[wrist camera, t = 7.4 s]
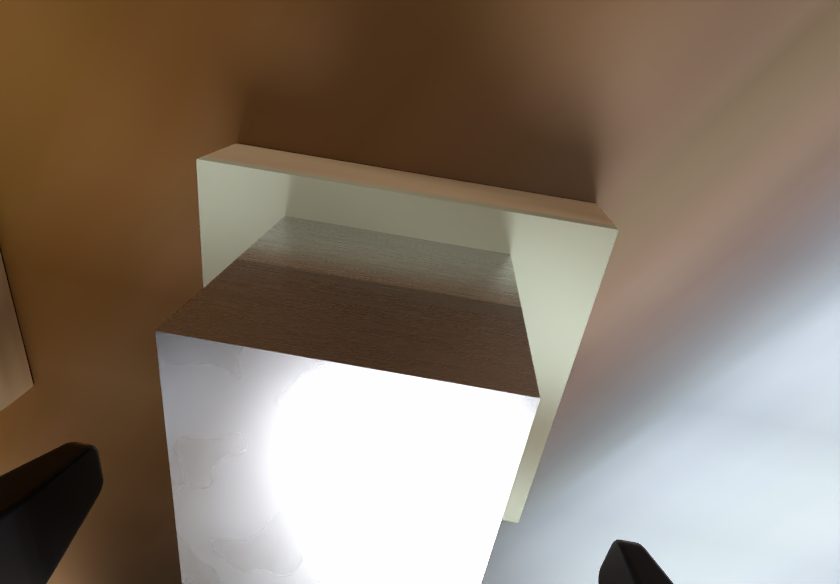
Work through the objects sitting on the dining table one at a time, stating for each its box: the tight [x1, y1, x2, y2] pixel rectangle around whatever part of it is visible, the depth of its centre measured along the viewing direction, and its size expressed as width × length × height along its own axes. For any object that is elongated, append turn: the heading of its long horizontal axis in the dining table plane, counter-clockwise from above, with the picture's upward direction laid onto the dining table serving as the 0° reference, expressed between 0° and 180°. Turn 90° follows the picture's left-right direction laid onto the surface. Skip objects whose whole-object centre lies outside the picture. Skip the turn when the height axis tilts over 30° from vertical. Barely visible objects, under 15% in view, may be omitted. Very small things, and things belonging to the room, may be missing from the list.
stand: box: [196, 143, 619, 523], centre depth 13 cm, size 9×9×2 cm
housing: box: [155, 216, 540, 584], centre depth 10 cm, size 7×5×5 cm
